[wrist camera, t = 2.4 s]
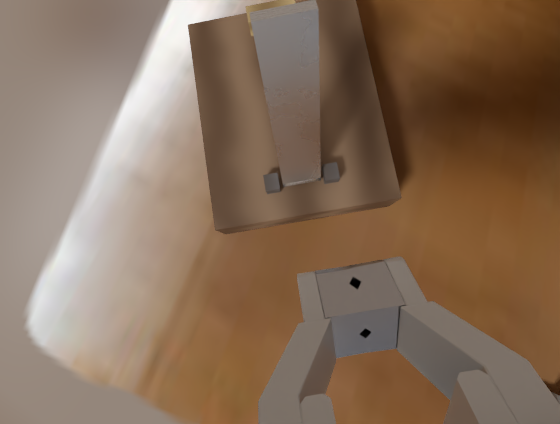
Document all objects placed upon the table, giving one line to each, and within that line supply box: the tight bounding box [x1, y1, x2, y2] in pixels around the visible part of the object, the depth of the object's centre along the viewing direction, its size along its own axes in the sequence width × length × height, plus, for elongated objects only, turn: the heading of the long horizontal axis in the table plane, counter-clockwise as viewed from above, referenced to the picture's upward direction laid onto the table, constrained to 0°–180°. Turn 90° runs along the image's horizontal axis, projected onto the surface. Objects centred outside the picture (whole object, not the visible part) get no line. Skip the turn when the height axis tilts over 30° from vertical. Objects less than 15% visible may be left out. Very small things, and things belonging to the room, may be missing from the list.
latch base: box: [188, 0, 402, 234], centre depth 30 cm, size 16×20×6 cm
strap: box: [249, 0, 321, 187], centre depth 22 cm, size 3×14×1 cm
